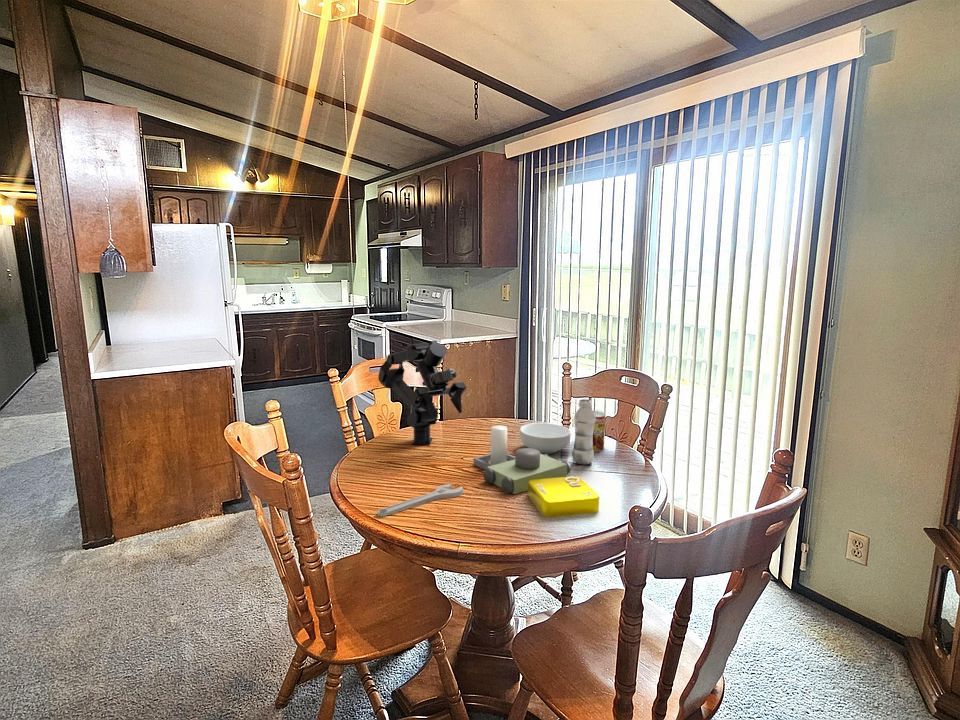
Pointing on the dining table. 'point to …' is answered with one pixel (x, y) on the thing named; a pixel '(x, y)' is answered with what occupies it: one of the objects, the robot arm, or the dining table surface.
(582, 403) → the plastic bottle
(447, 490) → the adjustable wrench
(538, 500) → the element tile
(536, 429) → the cereal bowl
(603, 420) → the canned food
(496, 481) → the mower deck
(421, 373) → the robot arm
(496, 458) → the white cylindrical piece
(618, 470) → the dining table surface
